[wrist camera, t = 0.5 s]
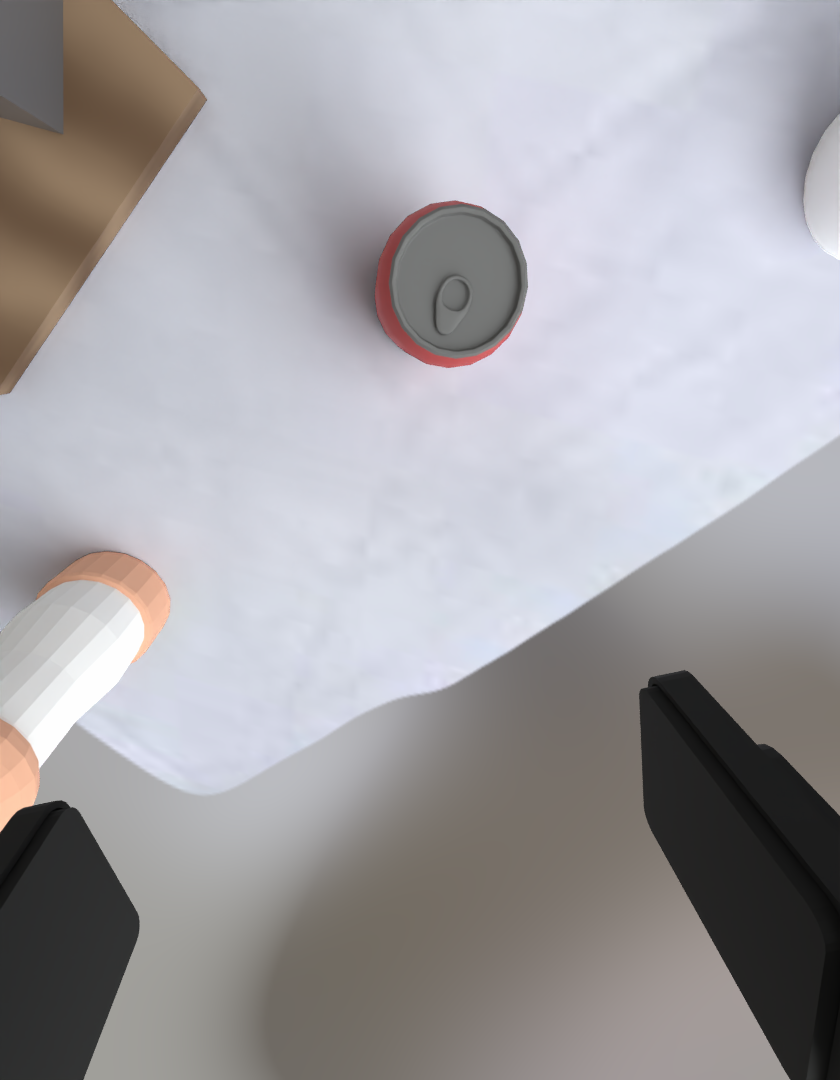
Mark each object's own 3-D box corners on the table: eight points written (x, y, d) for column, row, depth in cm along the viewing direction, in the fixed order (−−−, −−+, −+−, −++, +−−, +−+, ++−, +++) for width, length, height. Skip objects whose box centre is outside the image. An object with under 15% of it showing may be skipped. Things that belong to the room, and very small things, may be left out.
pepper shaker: (39, 568, 37) (-275, 795, 19) (141, 538, 36) (-79, 738, 19) (92, 655, 39) (-138, 925, 22) (188, 627, 39) (34, 877, 21)
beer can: (360, 335, 33) (354, 339, 22) (394, 218, 31) (407, 156, 20) (461, 372, 34) (503, 393, 23) (500, 262, 32) (568, 227, 21)
